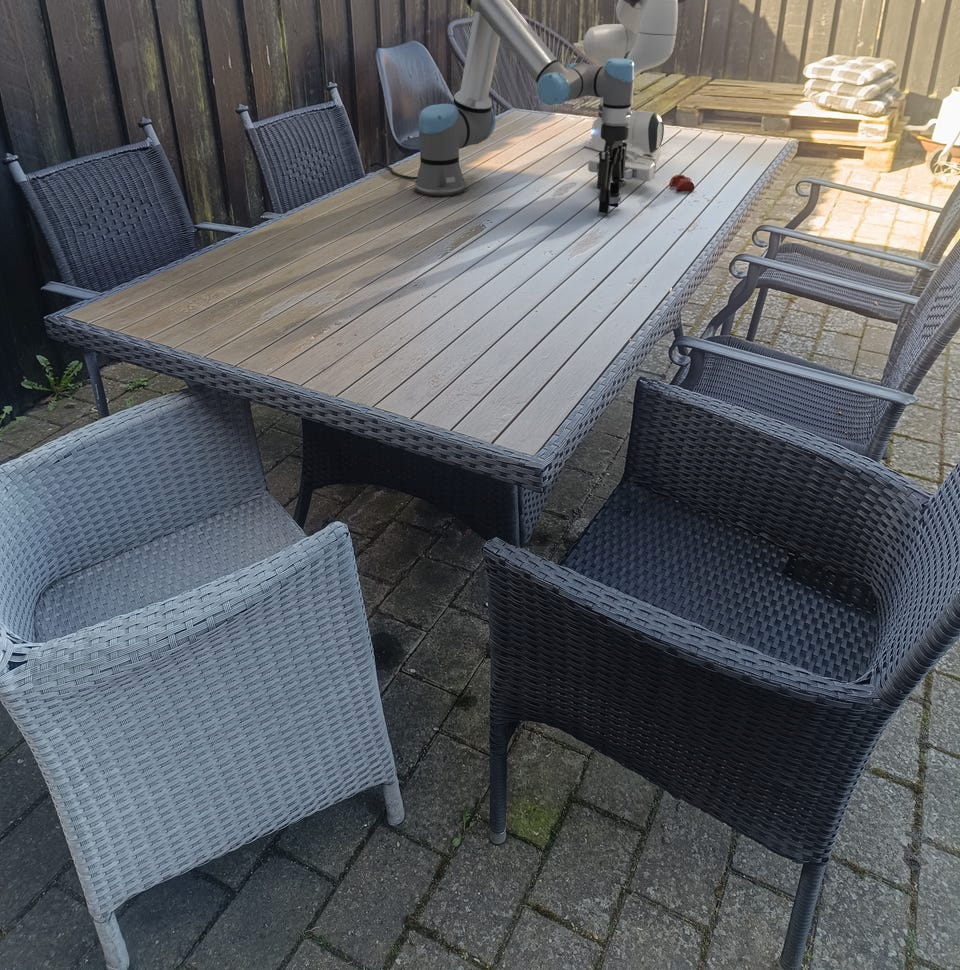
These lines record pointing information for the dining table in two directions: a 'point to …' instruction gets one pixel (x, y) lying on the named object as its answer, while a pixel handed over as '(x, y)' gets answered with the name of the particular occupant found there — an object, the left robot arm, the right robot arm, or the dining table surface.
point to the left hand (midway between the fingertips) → (608, 209)
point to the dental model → (681, 183)
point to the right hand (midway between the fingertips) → (609, 174)
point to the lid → (614, 197)
